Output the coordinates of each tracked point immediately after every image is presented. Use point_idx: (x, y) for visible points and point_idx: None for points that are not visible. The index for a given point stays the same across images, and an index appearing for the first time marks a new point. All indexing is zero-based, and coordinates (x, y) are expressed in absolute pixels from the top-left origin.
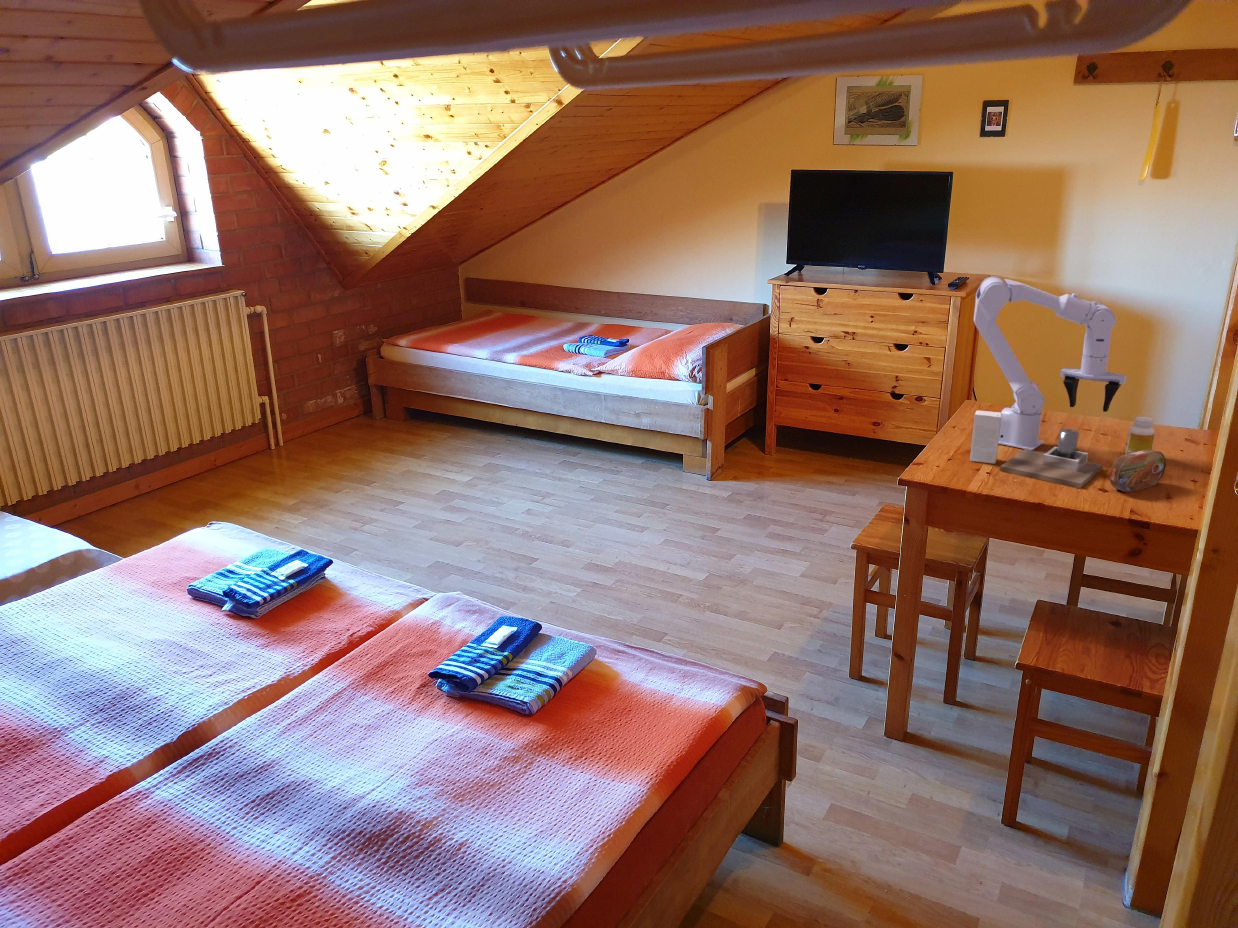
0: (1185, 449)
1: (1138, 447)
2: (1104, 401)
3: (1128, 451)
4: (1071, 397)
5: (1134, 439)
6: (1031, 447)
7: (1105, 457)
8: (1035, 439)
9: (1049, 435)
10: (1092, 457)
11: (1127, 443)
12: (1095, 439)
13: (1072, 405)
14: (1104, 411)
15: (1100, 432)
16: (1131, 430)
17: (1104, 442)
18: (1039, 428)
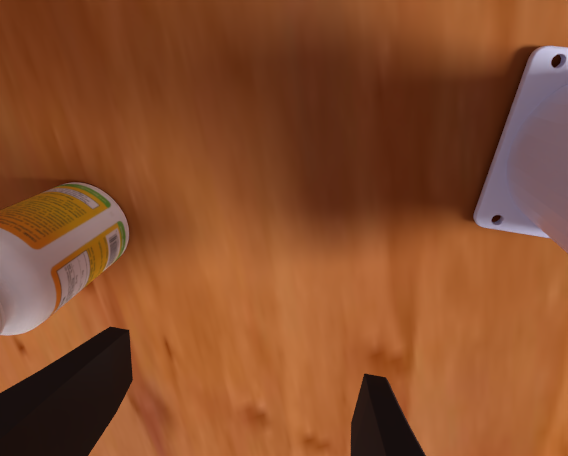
0: (17, 361)
1: (37, 198)
2: (58, 388)
3: (97, 205)
4: (396, 452)
5: (32, 217)
6: (544, 73)
7: (180, 148)
8: (540, 130)
9: (444, 344)
10: (226, 116)
11: (93, 236)
12: (268, 359)
13: (369, 384)
14: (116, 329)
15: (269, 432)
16: (25, 255)
17: (233, 338)
18: (553, 186)
